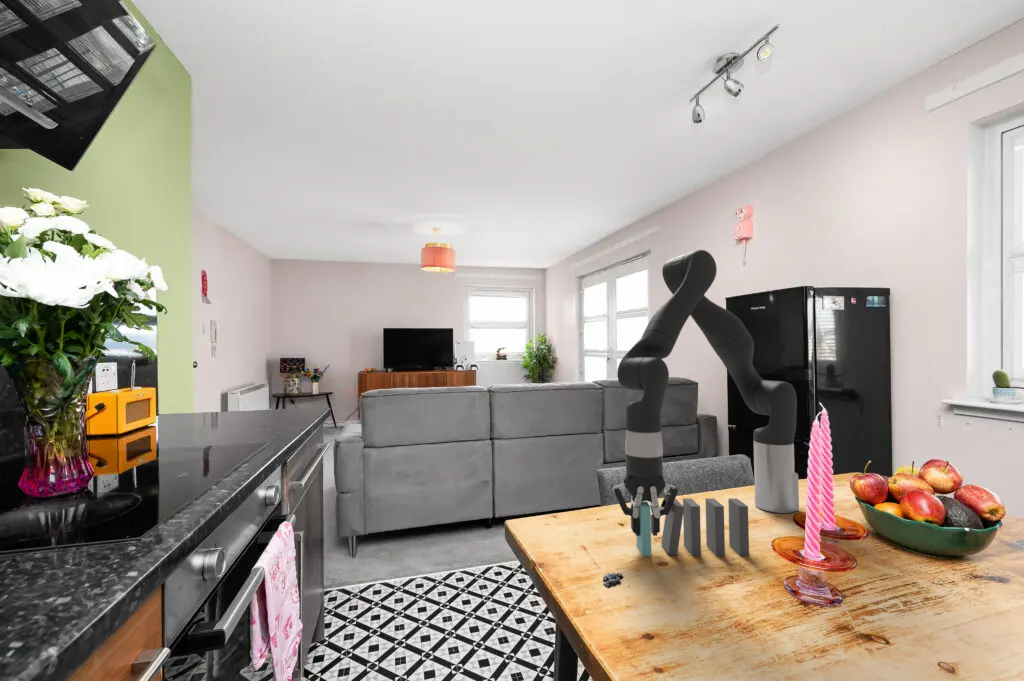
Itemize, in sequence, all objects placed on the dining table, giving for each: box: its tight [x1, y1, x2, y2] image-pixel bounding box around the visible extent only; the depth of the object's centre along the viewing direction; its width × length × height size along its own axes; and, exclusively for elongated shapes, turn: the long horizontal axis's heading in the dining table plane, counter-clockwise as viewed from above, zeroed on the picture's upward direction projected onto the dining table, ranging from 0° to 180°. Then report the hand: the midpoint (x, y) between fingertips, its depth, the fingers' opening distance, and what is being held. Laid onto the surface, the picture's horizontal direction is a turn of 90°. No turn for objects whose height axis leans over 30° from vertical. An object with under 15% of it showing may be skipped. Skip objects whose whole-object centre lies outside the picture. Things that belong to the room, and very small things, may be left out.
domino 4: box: [727, 497, 750, 557], centre depth 96 cm, size 2×5×10 cm, turn 178°
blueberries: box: [602, 572, 629, 589], centre depth 84 cm, size 7×8×2 cm
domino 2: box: [682, 497, 702, 557], centre depth 96 cm, size 2×5×10 cm, turn 178°
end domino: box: [636, 501, 652, 557], centre depth 96 cm, size 2×5×10 cm, turn 178°
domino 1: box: [660, 498, 684, 557], centre depth 96 cm, size 2×5×10 cm, turn 177°
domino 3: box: [705, 497, 726, 557], centre depth 96 cm, size 2×5×10 cm, turn 178°
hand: (645, 533), depth 96 cm, fingers open, 3 cm apart
